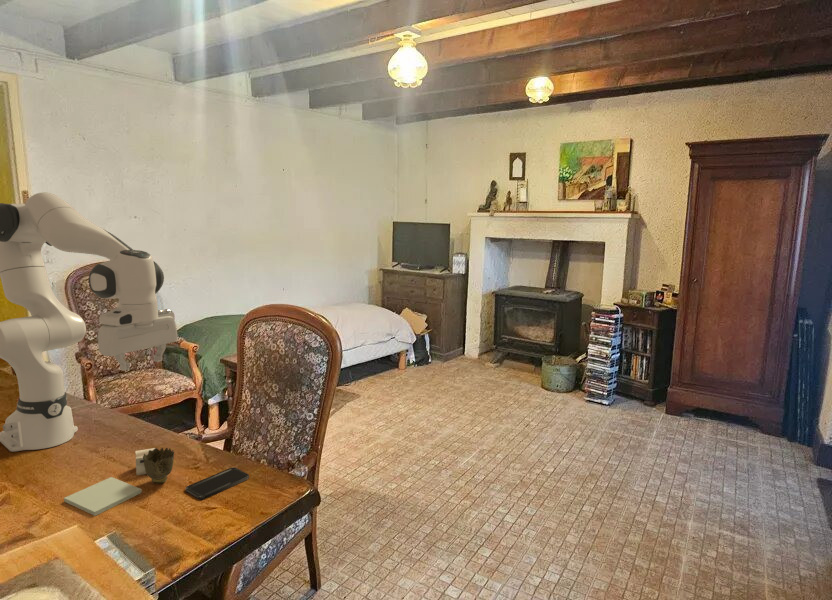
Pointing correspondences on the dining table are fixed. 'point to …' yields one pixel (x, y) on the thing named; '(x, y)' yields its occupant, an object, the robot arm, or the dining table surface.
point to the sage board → (102, 496)
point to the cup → (158, 464)
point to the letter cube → (141, 461)
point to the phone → (217, 483)
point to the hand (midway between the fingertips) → (142, 365)
